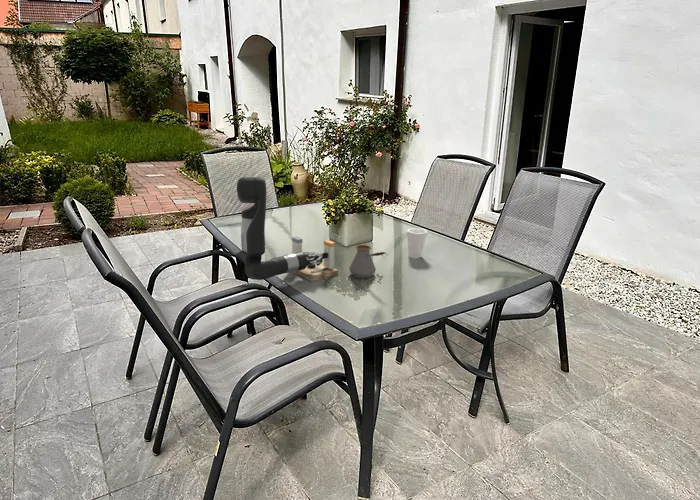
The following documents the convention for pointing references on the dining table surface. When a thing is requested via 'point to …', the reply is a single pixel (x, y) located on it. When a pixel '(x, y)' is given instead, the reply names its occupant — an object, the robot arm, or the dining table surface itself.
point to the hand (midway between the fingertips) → (326, 254)
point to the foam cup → (416, 242)
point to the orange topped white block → (329, 254)
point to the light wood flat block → (317, 272)
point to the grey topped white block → (296, 244)
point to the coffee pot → (363, 262)
